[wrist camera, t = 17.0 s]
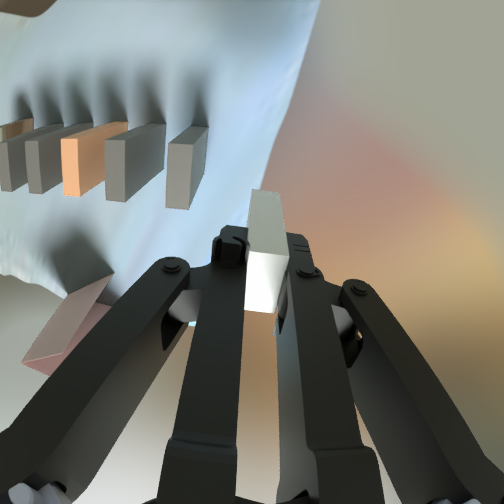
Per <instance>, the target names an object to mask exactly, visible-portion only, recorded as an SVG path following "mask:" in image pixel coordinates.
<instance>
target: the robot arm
mask: <svg viewBox="0 0 504 504" xmlns="http://www.w3.org/2000/svg"><path fill="white" fill-rule="evenodd" d="M277 305H278V315H277V319H276V322H275V327H274V330H273V334H272V335H274V336H275V333H276V341H277V369H278V399H279V433H280V434H279V437H280V481H279V486H278V489H277V497H276V504H385V500H384V494H383V487H382V483H381V482H382V481H381V476H380V470H379V464H378V460H377V457H376V454H375V452H374V450H373V449H372V448H370V447H367V446H364V445H363V443H362V440H361V435H360V430H359V425H358V420H357V414H356V409H355V405H356V407H357V409H358V411H359V413H360V415H361V417H362V419H363V421H364V424H365V426H366V428H367V430H368V432H369V434H370V436H371V438H372V441H373V443H374V445H375V447H376V449H377V451H378V453H379V455H380V458H381V460H382V462H383V464H384V466H385V469H386V471H387V472H388V475H389V477H390V480H391V482H392V484H393V486H394V488H395V491H396V493H397V495H398V497H399V499H400V501H401V502H402V504H504V473H503V472H502V471H501V470H500V469H498V468H497V467H496V466H495V465H494V464H493V463H492V462H491V461H490V460H489V459H488V458H487V457H486V456H485V455H484V453H483V451H482V450H481V448H480V446H479V444H478V443H477V441H476V439H475V437H474V436H473V434H472V432H471V431H470V429H469V427H468V426H467V424H466V422H465V421H464V419H463V417H462V416H461V414H460V412H459V411H458V409H457V408H456V406H455V404H454V403H453V401H452V400H451V398H450V396H449V395H448V393H447V392H446V390H445V389H444V388H443V386H442V384H441V383H440V381H439V379H438V378H437V377H436V375H435V374H434V372H433V371H432V369H431V368H430V366H429V365H428V363H427V362H426V360H425V359H424V357H423V356H422V354H421V353H420V352H419V350H418V349H417V347H416V346H415V344H414V343H413V342H412V340H411V339H410V337H409V336H408V335H407V333H406V332H405V330H404V329H403V328H402V326H401V325H400V323H399V322H398V321H397V319H396V318H395V317H394V316H393V314H392V313H391V311H390V310H389V309H388V307H387V306H386V305H385V303H384V302H383V301H382V299H381V298H380V297H379V295H378V294H377V293H376V292H375V290H374V289H373V288H372V287H371V286H370V285H369V284H367V283H365V282H364V281H361V280H358V279H349V280H346V281H345V282H344V283H343V285H342V287H341V286H337V285H334V284H332V283H329V282H327V281H325V280H324V276H323V274H322V272H321V271H320V270H319V269H318V268H317V267H315V266H314V263H313V259H312V255H311V253H310V248H309V244H308V241H307V240H306V238H305V237H304V236H303V235H301V234H294V233H287V232H286V230H285V224H284V218H283V212H282V205H281V199H280V194H279V193H276V192H269V191H262V190H256V189H252V193H251V200H250V207H249V214H248V221H247V227H246V228H245V227H238V226H230V225H226V226H225V227H224V228H222V229H221V232H220V235H219V236H217V237H215V238H214V240H213V244H212V256H211V263H209V264H208V265H205V266H202V267H196V268H190V266H189V263H188V262H187V261H186V260H183V259H181V258H178V257H165V258H162V259H159V260H158V261H156V262H155V263H154V264H153V265H152V266H151V267H150V268H149V269H148V270H147V271H146V272H145V273H144V274H143V275H142V276H141V277H140V278H139V279H138V280H137V281H136V282H135V283H134V284H133V285H132V286H131V287H130V288H129V289H128V290H127V291H126V292H125V293H124V295H123V296H122V297H121V298H120V299H119V300H118V301H117V302H116V303H115V304H114V305H113V306H112V307H111V308H110V309H109V310H108V311H107V313H106V314H105V315H104V316H103V317H102V318H101V319H100V320H99V321H98V322H97V323H96V324H95V326H94V327H93V328H92V329H91V330H90V331H89V332H88V333H87V334H86V335H85V337H84V338H83V339H82V340H81V341H80V342H79V343H78V344H77V346H76V347H75V348H74V349H73V350H72V351H71V352H70V354H69V355H68V356H67V357H66V358H65V359H64V360H63V362H62V363H61V364H60V365H59V366H58V367H57V369H56V370H55V371H54V372H53V373H52V374H51V376H50V377H49V378H48V380H46V382H45V383H44V384H43V385H42V386H41V388H40V389H39V390H38V391H37V393H36V394H35V395H34V396H33V398H32V399H31V400H30V401H29V403H28V404H27V405H26V406H25V408H24V409H23V410H22V411H21V413H20V414H19V415H18V417H17V418H16V419H15V420H14V422H13V423H12V424H11V426H10V427H9V428H7V429H5V430H4V431H2V432H1V433H0V504H72V502H74V501H75V500H76V499H77V498H78V497H79V496H80V495H81V494H82V493H83V492H84V491H85V490H86V489H87V487H88V486H89V484H90V483H91V481H92V480H93V478H94V477H95V475H96V473H97V472H98V470H99V469H100V467H101V465H102V464H103V462H104V460H105V459H106V457H107V456H108V454H109V452H110V450H111V449H112V447H113V446H114V444H115V442H116V441H117V439H118V437H119V436H120V434H121V433H122V431H123V429H124V427H125V426H126V424H127V423H128V421H129V419H130V418H131V416H132V415H133V413H134V411H135V410H136V408H137V406H138V405H139V403H140V401H141V400H142V398H143V397H144V395H145V393H146V392H147V390H148V389H149V387H150V385H151V384H152V382H153V381H154V379H155V377H156V376H157V374H158V373H159V371H160V369H161V368H162V366H163V365H164V363H165V362H166V360H167V358H168V357H169V355H170V353H171V352H172V350H173V349H174V347H175V346H176V344H177V342H178V341H179V339H180V338H181V336H182V334H183V333H184V331H185V330H186V328H187V327H188V324H189V322H192V321H196V325H195V330H194V334H193V339H192V343H191V348H190V352H189V357H188V361H187V366H186V370H185V376H184V380H183V385H182V389H181V395H180V399H179V405H178V409H177V414H176V419H175V424H174V429H173V434H172V437H171V438H170V439H169V440H168V443H167V446H166V450H165V454H164V460H163V465H162V470H161V476H160V481H159V487H158V493H157V498H155V499H152V500H149V501H147V502H145V503H143V504H263V503H259V502H255V501H252V500H248V499H244V498H241V497H238V496H235V492H236V474H237V447H236V435H237V418H238V402H239V386H240V370H241V354H242V338H243V322H244V310H251V311H259V312H269V313H276V309H277ZM358 332H360V333H361V335H362V338H360V337H359V335H358ZM354 403H355V405H354Z"/></svg>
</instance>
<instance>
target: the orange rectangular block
mask: <svg viewBox="0 0 504 504" xmlns="http://www.w3.org/2000/svg"><path fill="white" fill-rule="evenodd" d="M127 131H128V122H111V123H107V124H104V125H101V126H97V127H94V128H91V129H88V130H85V131H82V132H79V133H76V134H73V135H70V136H67V137H65V138H62V139H61V159H62V176H63V188H64V195H67V196H78V197H80V196H82V195H83V194H85V193H86V192H87V191H89V190H90V189H92V188H93V187H95V186H96V185H98V184H99V183H101V182H102V181H104V180H105V140H106V139H108V138H111V137H113V136H116V135H119V134H121V133H124V132H127Z"/></svg>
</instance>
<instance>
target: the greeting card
mask: <svg viewBox="0 0 504 504" xmlns="http://www.w3.org/2000/svg"><path fill="white" fill-rule="evenodd" d="M113 275H114V273H113V274H111V275H108V276H106V277H104V278H102V279H100V280H98V281H96V282H93V283H91V284H89V285H87V286H85V287H83V288H81V289H79V290H77V291H74V292H72V293H70V294H68V295H67V297H66V298H65V299H64V301H63V302H62V303H61V305H60V306H59V307H58V309H57V310H56V312H55V313H54V314H53V316H52V317H51V318H50V320H49V321H48V323H47V324H46V325H45V327H44V328H43V330H42V331H41V333H40V334H39V336H38V337H37V338H36V340H35V341H34V343H33V344H32V346H31V348H30V349H29V351H28V352H27V354H26V355H25V357H24V358H23V360H22V362H21V364H24V365H26V366H28V367H30V368H32V369H34V370H37V371H39V372H41V373H43V374H46V375H48V376H51V374H52V373H53V372H54V371H55V370H56V369H57V367H58V366H59V365H60V364H61V363H62V362H63V360H64V359H65V358H66V357H67V356H68V355H69V354H70V352H71V351H72V350H73V349H74V348H75V347H76V346H77V344H78V343H79V342H80V341H81V340H82V339H83V338H84V337H85V335H86V334H87V333H88V332H89V331H90V330H91V329H92V328H93V327H94V326H95V324H96V323H97V322H98V321H99V320H100V319H101V318H102V317H103V316H104V315H105V314H106V313H107V311H108V310H109V309H110V308H111V307H112V306H108V305H104V304H100V303H96V302H95V301H96V300H97V298H98V297H99V295H100V294H101V292H102V291H103V289H104V288H105V286H106V285H107V283H108V282H109V280H110V279H111V278H112V276H113Z"/></svg>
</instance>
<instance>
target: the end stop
mask: <svg viewBox="0 0 504 504" xmlns="http://www.w3.org/2000/svg"><path fill="white" fill-rule="evenodd" d="M32 130H34V118H28V119H22V120H18V121H15V122H12V123H9V124H5V125H2V126H0V142H1V141H4V140H7V139H9V138H12V137H15V136H17V135H20V134H23V133H26V132H29V131H32ZM0 185H1V183H0Z"/></svg>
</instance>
